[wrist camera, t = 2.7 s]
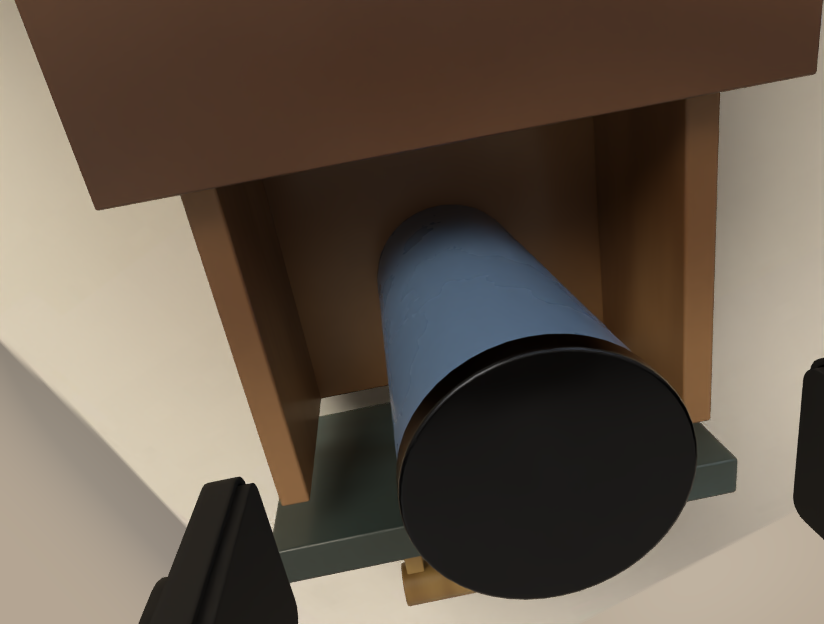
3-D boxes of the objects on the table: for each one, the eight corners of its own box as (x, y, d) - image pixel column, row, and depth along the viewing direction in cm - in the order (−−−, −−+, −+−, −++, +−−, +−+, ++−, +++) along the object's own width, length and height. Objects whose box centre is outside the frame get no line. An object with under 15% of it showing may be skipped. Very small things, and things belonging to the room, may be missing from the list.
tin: (362, 218, 18) (369, 384, 8) (511, 189, 18) (702, 318, 8) (390, 353, 20) (425, 625, 10) (526, 326, 20) (696, 569, 10)
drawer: (634, 467, 24) (731, 600, 18) (325, 530, 24) (314, 687, 18) (619, -35, 17) (769, -102, 11) (181, 46, 17) (80, 25, 11)
